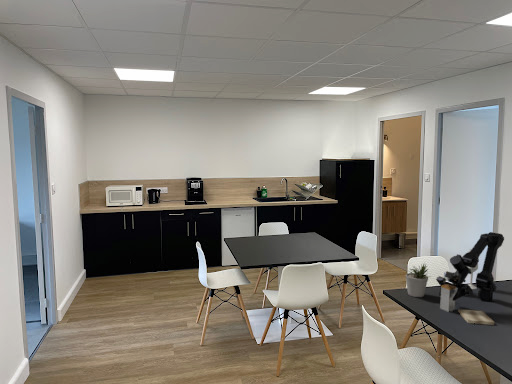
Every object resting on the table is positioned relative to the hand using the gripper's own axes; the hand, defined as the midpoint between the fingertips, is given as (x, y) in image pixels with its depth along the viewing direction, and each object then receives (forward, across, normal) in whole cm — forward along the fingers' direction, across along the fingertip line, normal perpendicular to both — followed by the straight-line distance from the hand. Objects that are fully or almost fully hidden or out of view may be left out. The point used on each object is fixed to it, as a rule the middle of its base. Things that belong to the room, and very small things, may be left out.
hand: (446, 297), depth 210 cm
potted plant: (+2, -23, +8) cm, 24 cm away
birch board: (+2, +14, +7) cm, 16 cm away
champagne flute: (-29, -17, +39) cm, 52 cm away
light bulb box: (-16, -18, +26) cm, 36 cm away
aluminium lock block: (+4, 0, +6) cm, 7 cm away
